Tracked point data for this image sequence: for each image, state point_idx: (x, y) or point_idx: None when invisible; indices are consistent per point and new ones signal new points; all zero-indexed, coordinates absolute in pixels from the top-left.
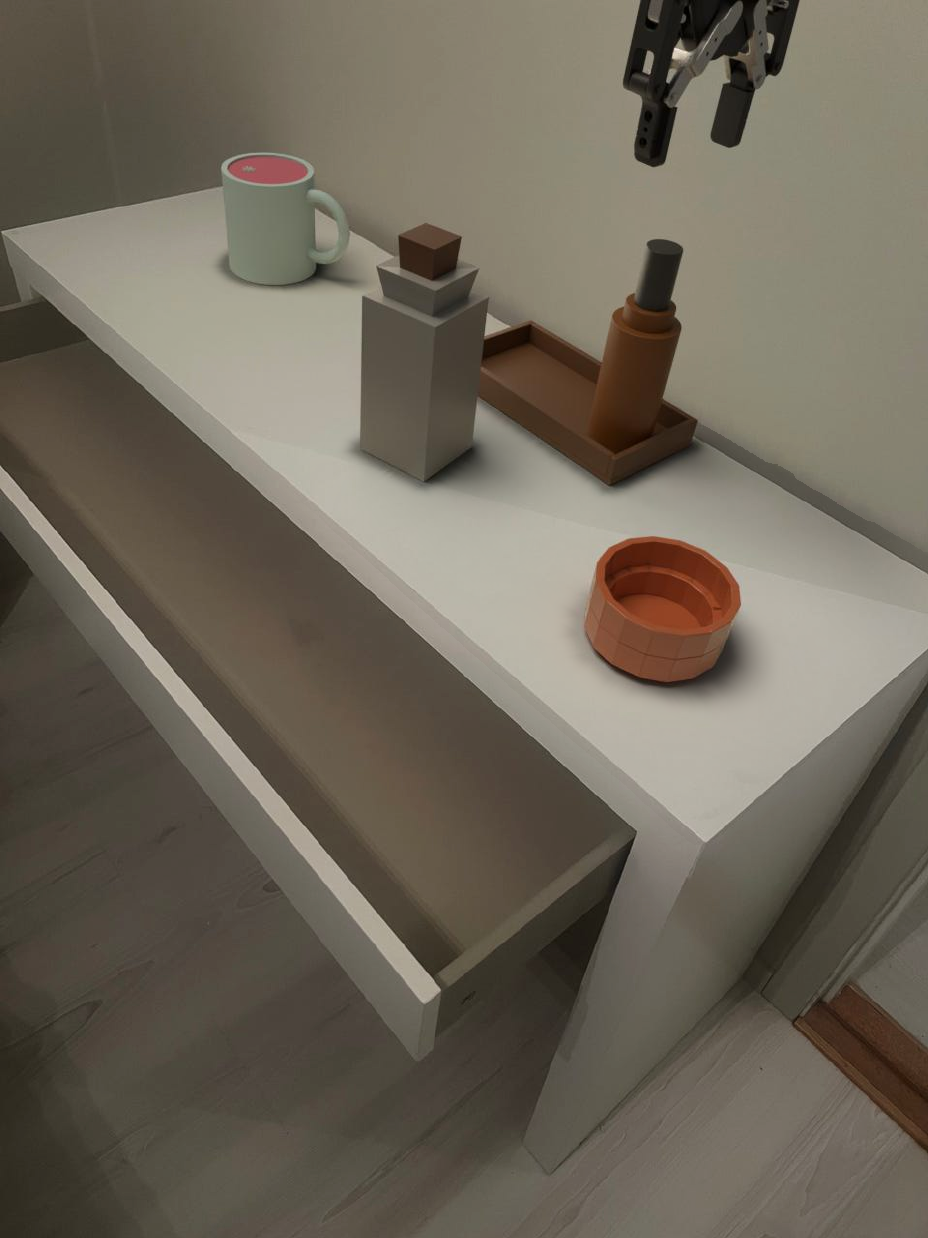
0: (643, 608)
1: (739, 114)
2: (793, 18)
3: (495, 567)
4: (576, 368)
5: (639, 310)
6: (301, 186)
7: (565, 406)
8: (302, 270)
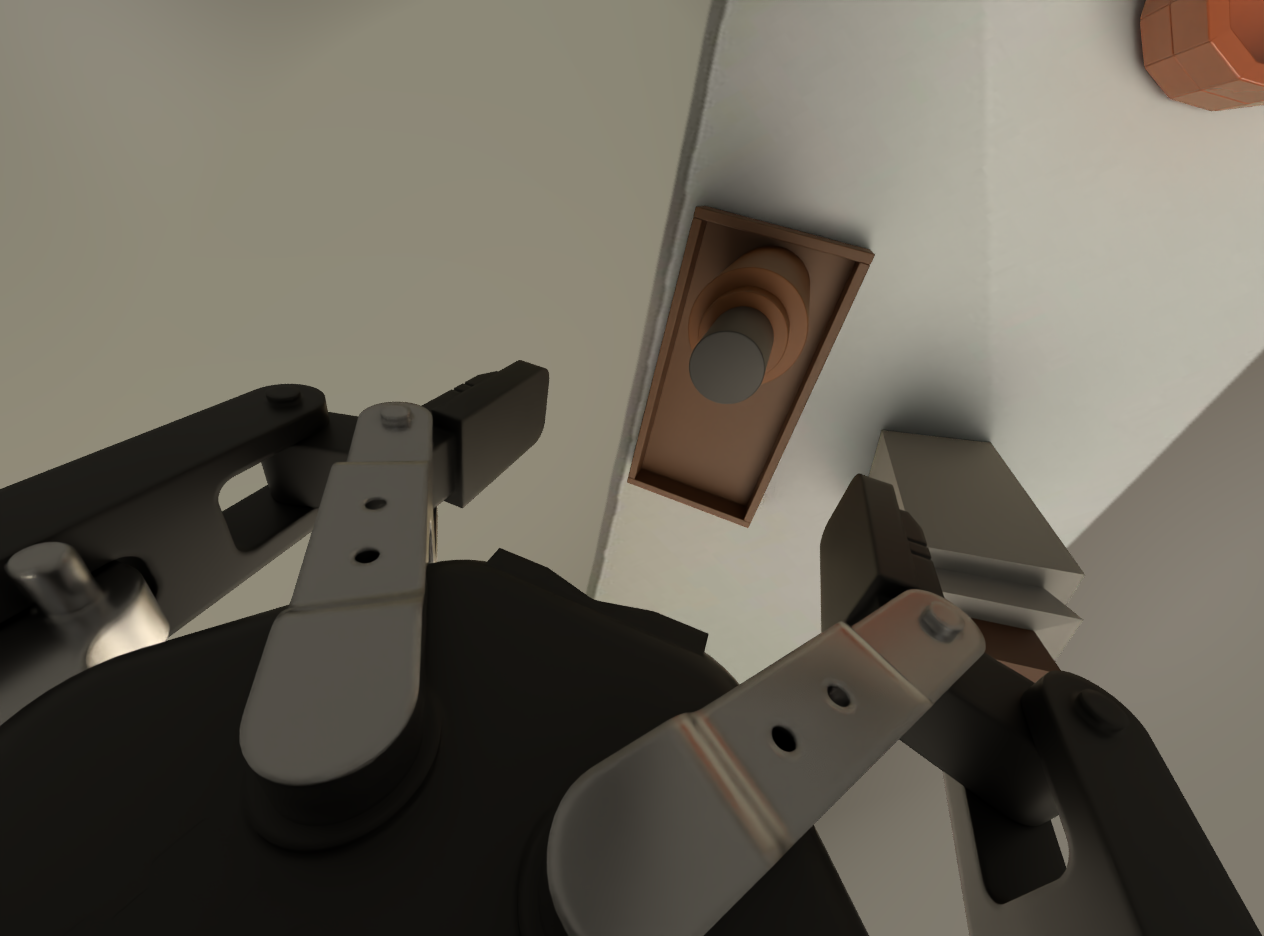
0: (1231, 15)
1: (503, 403)
2: (62, 473)
3: (1163, 283)
4: (658, 402)
5: (782, 343)
6: None
7: None
8: None
